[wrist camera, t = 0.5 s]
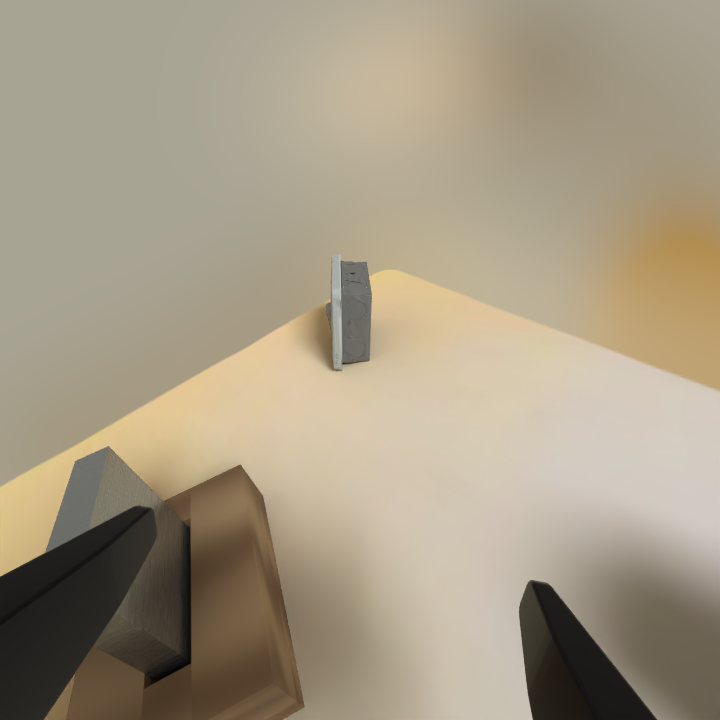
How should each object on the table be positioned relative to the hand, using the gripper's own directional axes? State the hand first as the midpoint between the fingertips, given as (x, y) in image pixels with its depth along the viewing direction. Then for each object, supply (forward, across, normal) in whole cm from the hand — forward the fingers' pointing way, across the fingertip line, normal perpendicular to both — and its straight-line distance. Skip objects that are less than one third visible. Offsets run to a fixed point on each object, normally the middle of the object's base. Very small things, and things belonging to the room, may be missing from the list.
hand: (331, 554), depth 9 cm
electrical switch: (+35, +4, +8) cm, 36 cm away
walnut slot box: (+9, +9, +18) cm, 22 cm away
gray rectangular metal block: (+8, +9, +17) cm, 21 cm away
